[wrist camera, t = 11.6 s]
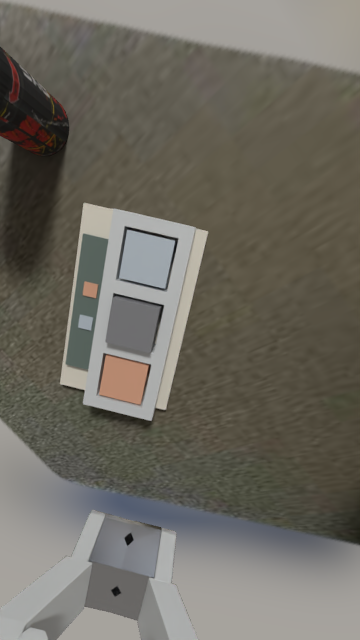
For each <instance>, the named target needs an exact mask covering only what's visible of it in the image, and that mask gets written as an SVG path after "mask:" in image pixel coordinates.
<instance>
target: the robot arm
mask: <svg viewBox="0 0 360 640" xmlns="http://www.w3.org/2000/svg"><path fill="white" fill-rule="evenodd" d="M176 535H177V534H176V531H172V530H168V529H164V528H162V529H161V527H158V526H153V525H149V524H145V523H141V522H137V521H131V520H127V519H124V518H121V517H117V516H114V515H110V514H106V513H102V512H99V511H95V510H92V511H91V513H90V514H89V516H88V519H87V521H86V523H85V526H84V528H83V530H82V533H81V535H80V537H79V539H78V542H77V544H76V546H75V548H74V551H73V553H72V555H71V557H69V556H66V557H64V558H63V559H62V560H61V561H59V562H58V563H57V564H56V565H54V566H53V567H52V568H51V569H49V570H48V571H47V572H46V573H44V574H43V575H42V576H41V577H39V578H38V579H37V580H35V581H34V582H33V583H32V584H30V585H29V586H28V587H27V588H25V589H24V590H23V591H22V592H20V593H19V594H18V595H17V596H15V597H14V598H13V599H12V600H10V601H9V602H8V603H7V604H5V605H4V606H3V607H2V608H0V640H56V639H57V638H58V637H59V636H60V635H61V634H62V633H63V631H64V630H65V629H66V628H67V627H68V626H69V625H70V624H71V623H72V621H73V620H74V619H75V618H76V617H77V616H78V615H79V614H80V613H81V611H82V610H83V609H84V606H85V607H89V608H93V609H98V610H102V611H107V612H111V613H114V614H118V615H121V616H124V617H127V618H131V619H134V620H137V621H138V628H139V632H140V636H141V640H198V638H197V635H196V633H195V630H194V628H193V625H192V623H191V620H190V618H189V615H188V613H187V610H186V608H185V605H184V603H183V600H182V598H181V596H180V593H179V591H178V588H177V586H176V584H172V574H173V565H174V555H175V545H176Z"/></svg>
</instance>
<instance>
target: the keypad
mask: <svg viewBox="0 0 360 640" xmlns="http://www.w3.org/2000/svg"><path fill="white" fill-rule="evenodd" d="M127 230H132V231H137V232H141V233H145V234H150V235H154V236H158V237H162V238H167V239H171V240H175V241H177V246H176V250H175V255H174V260H173V264H172V269H171V274H170V278H169V283H168V286H167V287H166V288H165V289H164V288H159V287H155V286H151V285H147V284H143V283H138V282H134V281H130V280H126V279H121V278H119V275H120V269H121V263H122V257H123V251H124V246H125V240H126V234H127ZM207 235H208V231H204V230H200V229H196V227H192V226H188V225H183V224H179V223H175V222H170V221H166V220H162V219H157V218H153V217H149V216H144V215H140V214H136V213H131V212H127V211H123V210H118V209H114V208H113V209H109V208H104V207H100V206H96V205H91V204H87V203H84V205H83V212H82V220H81V228H80V235H79V243H78V251H77V258H76V266H75V273H74V281H73V289H72V296H71V304H70V312H69V319H68V327H67V335H66V342H65V350H64V357H63V365H62V373H61V380H60V384H62V385H66V386H70V387H74V388H78V389H82V390H85V394H84V400H83V404H85V405H89V406H93V407H97V408H101V409H105V410H109V411H113V412H117V413H121V414H125V415H129V416H133V417H137V418H141V419H145V420H149V421H152V418H153V415H154V412H155V408H159V409H163V410H166V407H167V402H168V398H169V394H170V390H171V386H172V381H173V377H174V373H175V369H176V365H177V360H178V356H179V352H180V348H181V344H182V340H183V335H184V331H185V327H186V323H187V319H188V314H189V310H190V306H191V302H192V298H193V293H194V289H195V285H196V281H197V277H198V272H199V268H200V264H201V260H202V256H203V252H204V247H205V243H206V239H207ZM119 294H120V295H124V296H128V297H133V298H137V299H141V300H145V301H149V302H153V303H158V304H162V305H163V306H162V311H161V316H160V320H159V325H158V330H157V335H156V339H155V344H154V347H153V349H152V351H151V353H147V352H143V351H139V350H135V349H130V348H126V347H122V346H118V345H114V344H110V343H106V336H107V330H108V324H109V318H110V312H111V306H112V300H113V298H114V297H115V296H117V295H119ZM107 354H110V355H114V356H118V357H122V358H126V359H130V360H134V361H139V362H143V363H147V364H151V367H150V371H149V376H148V381H147V385H146V390H145V395H144V397H143V400H142V402H141V404H140V405H139V404H135V403H131V402H127V401H123V400H119V399H115V398H111V397H107V396H103V395H99V392H100V386H101V380H102V374H103V368H104V363H105V357H106V355H107Z"/></svg>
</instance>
